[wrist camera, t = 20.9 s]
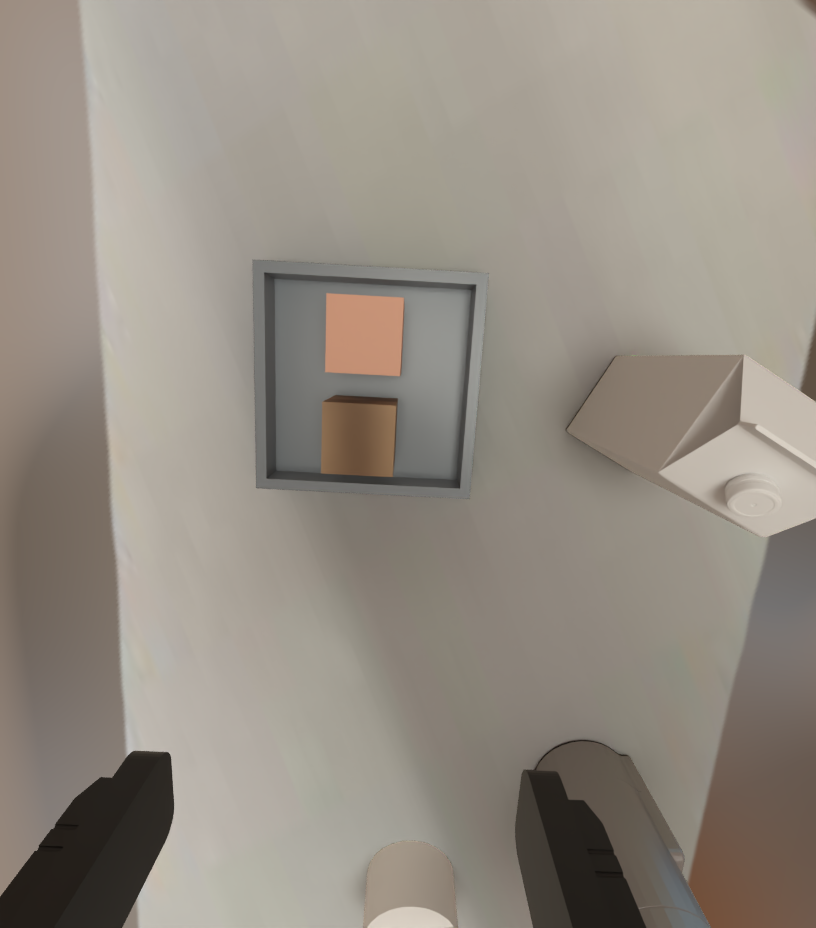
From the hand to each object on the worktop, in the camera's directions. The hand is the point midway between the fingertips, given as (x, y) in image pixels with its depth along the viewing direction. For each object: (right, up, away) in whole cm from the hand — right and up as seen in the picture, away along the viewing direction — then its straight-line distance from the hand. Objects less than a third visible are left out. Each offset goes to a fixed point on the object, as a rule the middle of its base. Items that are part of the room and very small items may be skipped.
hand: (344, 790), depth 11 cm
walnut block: (-2, +10, +28) cm, 30 cm away
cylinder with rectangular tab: (+2, -36, +39) cm, 53 cm away
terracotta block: (-1, +17, +26) cm, 31 cm away
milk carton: (+19, +11, +29) cm, 36 cm away
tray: (-2, +14, +28) cm, 31 cm away
